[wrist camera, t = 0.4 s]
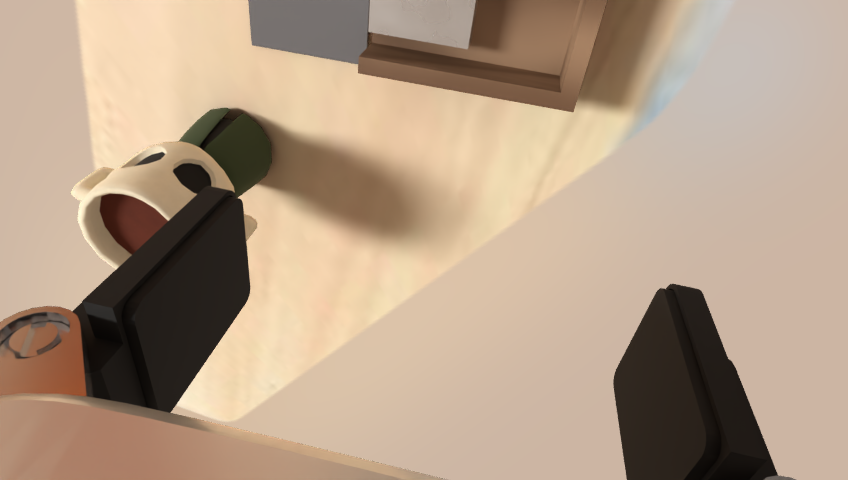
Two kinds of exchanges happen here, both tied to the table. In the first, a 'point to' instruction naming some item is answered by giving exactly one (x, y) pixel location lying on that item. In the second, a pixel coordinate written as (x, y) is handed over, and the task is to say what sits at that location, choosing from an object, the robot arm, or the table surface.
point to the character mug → (169, 182)
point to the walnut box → (501, 53)
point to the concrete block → (425, 20)
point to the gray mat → (312, 27)
